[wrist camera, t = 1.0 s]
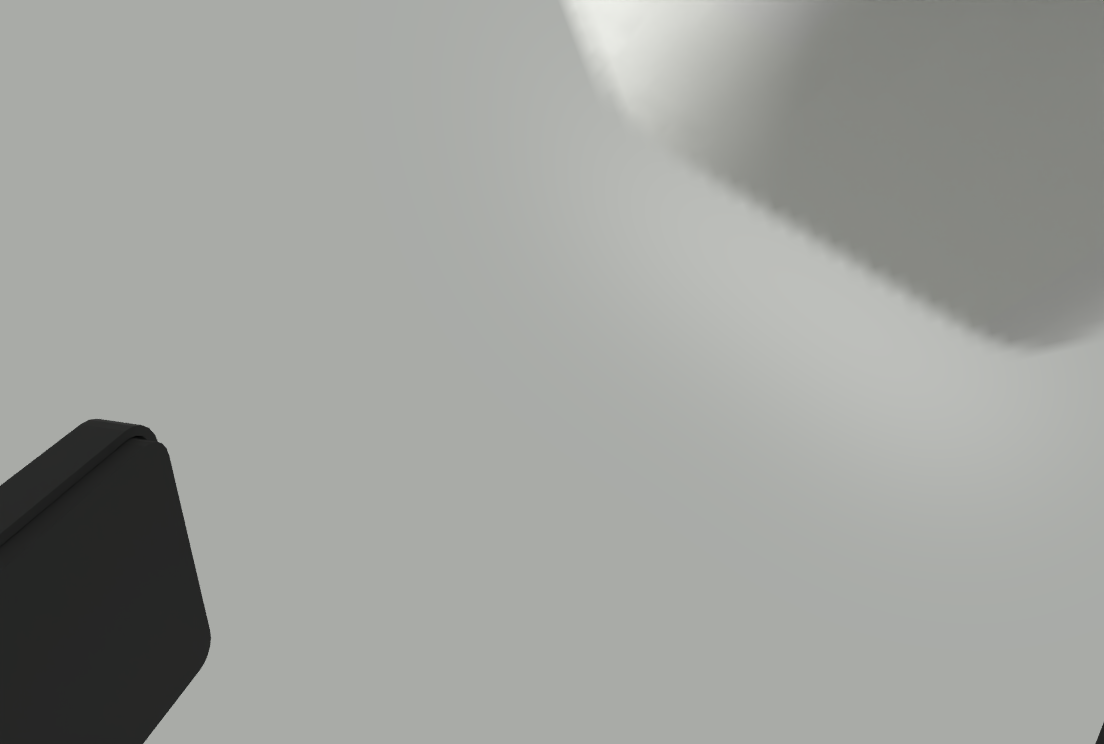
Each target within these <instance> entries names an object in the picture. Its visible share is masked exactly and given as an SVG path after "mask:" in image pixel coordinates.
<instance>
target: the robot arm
mask: <svg viewBox="0 0 1104 744" xmlns="http://www.w3.org/2000/svg"><path fill="white" fill-rule="evenodd" d="M210 640H211V636H210V629H209V624H208V620H207V616H206V612H205V607H204V603H203V599H202V594H201V590H200V586H199V581H198V577H197V573H196V569H195V564H194V560H193V556H192V552H191V548H190V543H189V539H188V534H187V530H186V526H185V521H184V517H183V513H182V509H181V504H180V500H179V496H178V492H177V487H176V483H175V479H174V474H173V470H172V466H171V461H170V457H169V454H168V452H167V449H166V447H165V446H164V445H163V444H162V443H159V442H158V441H157V439H156V436H155V434H154V433H153V432H152V431H151V430H150V429H149V428H147V427H145V426H142V425H136V424H129V423H123V422H115V421H109V420H101V419H92V420H88V421H86V422H84V423H82V424H81V425H79V426H78V427H77V428H75V429H74V430H73V431H71V432H70V433H69V434H67V435H66V436H65V437H64V438H62V439H61V440H60V441H58V442H57V443H56V444H54V445H53V446H52V447H50V448H49V449H48V450H46V451H45V452H44V453H43V454H41V455H40V456H39V457H37V458H36V459H35V460H33V461H32V462H31V463H29V464H28V465H27V466H26V467H24V468H23V469H22V470H20V471H19V472H18V473H16V474H15V475H14V476H12V477H11V478H10V479H8V480H7V481H6V482H5V483H3V484H2V485H1V486H0V744H143V743H144V742H145V740H146V739H147V738H148V736H149V735H150V734H151V733H152V731H153V730H154V729H155V727H156V726H157V725H158V724H159V722H160V721H161V720H162V718H163V717H164V716H165V715H166V713H167V712H168V711H169V709H170V708H171V707H172V705H173V704H174V703H175V702H176V700H177V699H178V697H179V696H180V695H181V694H182V692H183V691H184V690H185V689H186V687H187V686H188V685H189V683H190V682H191V681H192V679H193V678H194V677H195V676H196V674H197V673H198V672H199V670H200V669H201V667H202V666H203V664H204V662H205V660H206V658H207V655H208V652H209V648H210ZM1096 744H1104V723H1103V726H1102V729H1101V731H1100V734H1099V736H1098V739H1097V741H1096Z"/></svg>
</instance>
